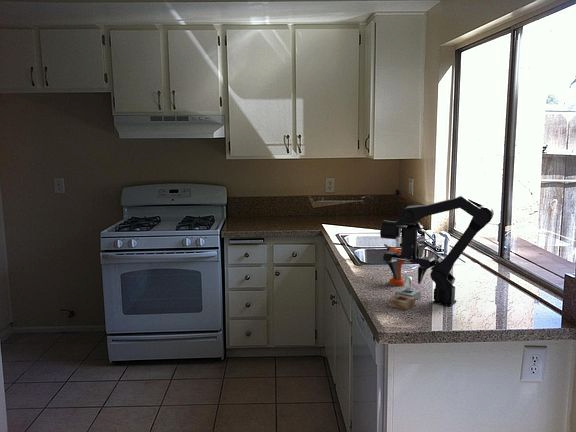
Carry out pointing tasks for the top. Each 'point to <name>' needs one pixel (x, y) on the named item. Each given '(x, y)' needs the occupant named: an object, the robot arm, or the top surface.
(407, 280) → the silver metal rod
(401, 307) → the socket block
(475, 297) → the top surface
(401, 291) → the gray square ring
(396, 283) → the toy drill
